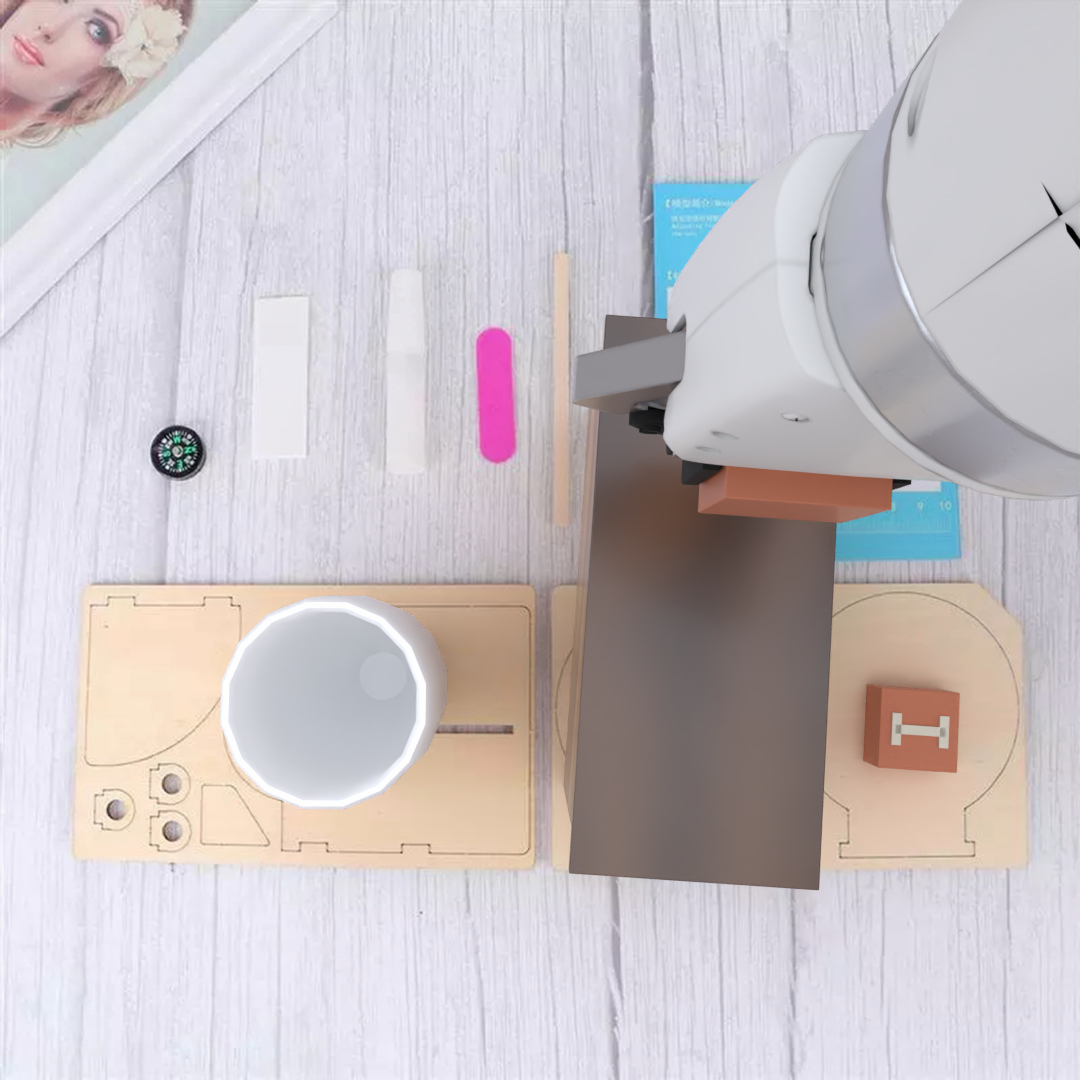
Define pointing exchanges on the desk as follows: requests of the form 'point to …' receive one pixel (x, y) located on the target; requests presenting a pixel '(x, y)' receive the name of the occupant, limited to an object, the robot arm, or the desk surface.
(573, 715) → the stand
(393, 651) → the cup
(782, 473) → the tile
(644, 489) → the word board
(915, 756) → the tile
